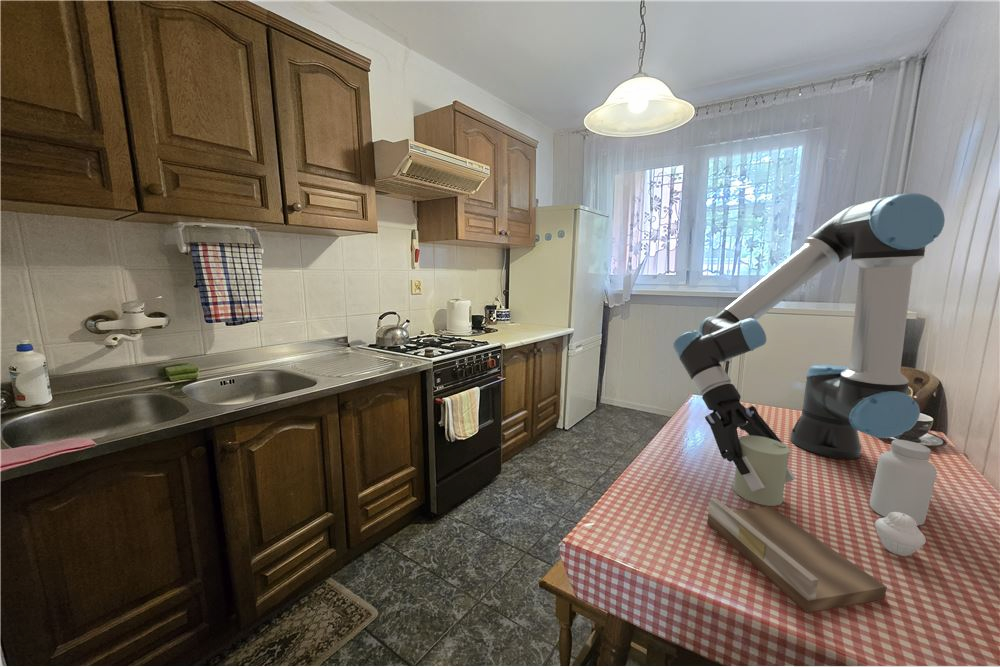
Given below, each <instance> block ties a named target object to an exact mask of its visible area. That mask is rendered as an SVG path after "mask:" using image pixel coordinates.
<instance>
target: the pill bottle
mask: <svg viewBox="0 0 1000 667" xmlns="http://www.w3.org/2000/svg"><path fill="white" fill-rule="evenodd" d="M931 454H932V450H931V449H930V448H929V447H928V446H925V445H924V444H921V443H918V442H914V441H910V440H906V439H893V440H892V441H891V443H890V450H889V451H885V452H882V453H881V454H880V455H879V457H878V460H877V466H876V470H875V475H874V479H873V483H872V489H871V494H870V499H869V506H870V508H871V510H873V511H874V512H875V513H877V514H879V515H880V516H882V518H885V517H887V516H888V514H889V513H891V512H900V513H903V514H906V515H908V516H910V517H911V518H913V519H914V520H915V521H916V523H917V527H918V526H919V525H920V526H922V525H924V523H925V522H926V519H927V515H928V512H929V511H928V510H929V506H930V503H931V499H932V494H933V490H934V486H935V483H936V478H937V468H936V466H935V465H934V464H933V463H932V462H930V457H931Z"/></svg>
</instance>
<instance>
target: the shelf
mask: <svg viewBox="0 0 1000 667" xmlns="http://www.w3.org/2000/svg"><path fill="white" fill-rule="evenodd" d="M707 524H708V525H709V526H711V528H712V529H713V530H715V531H716V532H717V533H718V534H719V536H721V537H722V538H723V539H724V540H726V542H728V543H729V544H730V545H731V546H732V547H733V548H735V549H736V551H738V552H739V554H741V555H742V556H743V557H744V558H745V559H747V561H749V562H750V563H751V565H753V566H754V567H755V568H756V569H758V571H760V573H761V574H762V575H764V576H765V577H766V578H769V581H770V582H771V583H773V585H775V584H776V585H775V586H776V587H777V588H778V587H779V588H780V591H781V592H783V594H785V595H786V596H787V595H788V596H789V597H790V598H791V599H792V600H791V601H792V602H793V603H795V604H796V605H797V606H798V607H799V608H800V609H801V608H802V611H803V612H805V613H806V614H807V613H812V612H813V613H814V612H818V611H823V610H829V609H835V608H836V609H837V608H840V607H841V608H842V607H846V606H852V605H858V604H862V603H869V602H874V601H879V600H885V598H886V593H887V589H888V587H887V586H886V585H885V584H883V583H882V582H880V581H879V580H878V579H876V578H875V577H873V576H872V575H870V574H869V573H867V572H866V571H865V570H863V569H861V567H859V566H857V565H856V564H854V563H853V562H852V561H850V560H848V558H846V557H845V556H843V555H842V554H841V553H838V552H837V551H836V550H834V549H833V548H832V547H830V546H828V545H827V544H826V543H824V542H822V540H820V539H819V538H817V537H816V536H814V535H812V534H811V533H810V532H809V531H807V530H805V529H804V528H803V527H801V526H799V525H798V524H797V523H795V521H792V520H791V519H790V518H788V517H787V516H785V515H784V514H782V513H781V512H780V511H778V510H777V509H775V508H774V507H773V506H762V507H752V508H744V509H735V510H732V509H731V508H729V506H727V505H725V503H723V502H722V501H720V500H719V499H718V498H717V497H710V498H709V505H708V514H707ZM779 588H778V589H779ZM788 596H787V597H788ZM789 597H788V598H789ZM790 598H789V599H790Z"/></svg>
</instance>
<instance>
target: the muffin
mask: <svg viewBox="0 0 1000 667" xmlns="http://www.w3.org/2000/svg"><path fill="white" fill-rule="evenodd" d="M874 526H875V529H876V533H877V535H878V538H879V540H880V542H881V545H882V546H883V547H884V549H885V550H887V551H889V552H890V553H893V554H895V555H897V556H901V557H909V556H910V555H912V554H913V553H916V552H917V551H918V550H920V549H921V548H922V547H923V546H924V545H925V544H926V542H927V540H926V537H925V535H924V534H923V532H922V531H921V530H920V529H919V527H918V526H917V523H916V521H915V520H914V519H913V518H911V517H910V516H908V515H906V514H903V513H900V512H891V513H889V514H888V516H887V517H880V518H878V519H877V520H876V521H875V522H874Z"/></svg>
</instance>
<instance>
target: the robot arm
mask: <svg viewBox="0 0 1000 667" xmlns="http://www.w3.org/2000/svg"><path fill="white" fill-rule="evenodd" d="M945 221H946V220H945V212H944V210H943V209H942V206H941V205H940V204H939V203H938V202H937V201H935V200H934V199H932V197H930V196H928V195H926V194H922V193H918V192H917V193H916V192H915V193H914V192H911V193H910V192H909V193H899V194H898V193H897V194H892V195H887V196H884V197H881V198H876V199H873V200H870V201H869V200H868V201H864V202H860V203H856V204H854V205H850V206H849V207H847V208H844V209H843V210H841V211H840V212H838V213H837V214H835V215H834V216H833V217H832V218H830V219H829V220H827V221H826V222H825V223H824V224H822V225H821V226H820V227H819V228H818V229H816V230H815V231H813V233H811V234H810V235H809V236H807V237H806V238H805V239H804V241H803V246H801V247H800V248H799V249H797V250H796V251H795V252H794V253H793V254H792V255H790V256H789V257H788V258H786V259H785V260H784V261H783V262H782V263H779V265H778V266H776V267H775V268H774V269H773V270H771V271H770V272H769V273H768V274H767V275H765V276H764V277H762V278H761V279H760V280H759V281H757V283H755V284H754V285H753V286H752V287H750V288H749V289H747V290H746V291H745V292H744V293H743V294H741V295H740V296H739V297H738V298H737V299H735V300H734V301H733V302H731V303H730V304H729V305H728V306H726V307H725V308H724V309H722V310H721V311H720V312H718V313H717V314H715V315H712V316H708V317H706V318H704V319H703V320H702V322H701V323H700V324H699V330H692V331H686V332H684V333H683V334H680V335H679V336H677V338H676V339H675V340H674V341H673V346H672V347H673V348H674V350H675V353H676V355H677V357H678V359H679V361H680V362H681V364H682V365H683V368H684V369H685V370H686V372H687V374H688V376H689V378H690V379H691V380H692V382H693V384H694V386H695V387H696V389H697V390H698V392H699V395H702V398H701V399H702V400H703V402H704V404H705V405H706V407H707V409H708V410H709V411H712V412H710V413H708V414H707V415H705V416H704V419H705V421H706V422H707V424H708V425H709V426H710V430H711V432H712V434H713V437H714V440H715V442H716V446H717V448H718V451H719V453H720V456H721V458H722V459H723V460H727V461H728V462H733V463H734V465H735V468H736V467H737V469H738V470H739V472H740V474H741V475H743V476H744V478H745V480H746V482H747V484H748V485H749V487H750V489H751V491H752V492H753V491H756V490H759V489H762V488H765V487H764V485H763V483H762V482H761V480H760V478H759V477H758V475H757V473H756V471H755V470H754V468H753V466H752V465H751V463H750V462H749V460H748V458H747V457H746V456H744V457H742V452H741V447H740V442H739V438H740V437H739V433H738V429H740V430H742V431H744V432H745V433H747V434H748V435H754V436H761V437H766V438H770V439H773V440H776V441H779V442H781V443H783V441H782V440H781V439H780V438H779V436H777V435H776V433H775V432H774V431H773V430H772V428H771V427H770V426H769V425H768V424H767V422H766V421H765V420H764V418H763V417H762V416H761V415H760V414H759V412H758V410H757V408H756V407H755V406H753V405H751V406H749V407H746V406H744V405H743V404H742V403H741V401H740V400H741V394H740V393H739V392H738V389H737V388H736V386H735V385H734V384H732V380H731V378H730V377H729V375H728V373H727V372H726V370H725V369H724V368H723V366H722V365H721V363H723V362H725V361H727V360H730V359H732V358H736V357H739V356H741V355H744V354H746V353H749V352H753V351H754V350H757V349H759V348H760V347H763V346H764V345H765V344H767V336H766V333H765V332H766V331H765V329H764V328H763V327H762V325H761V324H760V323H759V321H758V319H760V318H762V316H764V315H765V314H766V313H768V312H769V311H770V310H772V309H773V308H774V307H776V306H777V305H778V304H780V303H781V302H782V301H784V300H785V299H786V298H788V297H789V296H790V295H792V294H793V293H794V292H795V291H797V290H798V289H800V288H801V287H802V286H804V285H805V284H806V283H807V282H809V281H810V280H811V279H813V278H814V277H816V275H818V274H819V273H820V272H822V271H823V270H825V269H826V268H827V267H829V266H836V265H838V264H839V263H841V262H842V261H843V260H844V259H846V258H848V257H850V256H851V258H850V261H851V262H852V263H854V264H855V265H857V267H858V277H857V287H856V295H855V297H856V298H855V308H854V315H853V316H854V317H853V318H854V319H853V329H852V338H851V348H850V349H851V350H850V358H849V359H850V360H849V365H848V366H843V365H832V364H831V365H830V364H814V365H811V366H810V367H809V369H808V371H807V375H806V382H805V388H804V396H803V403H802V409H801V410H802V411H801V415H800V417H799V418H798V419H797V421H796V422H795V424H794V427H793V428H792V429H791V431H790V437H789V439H790V442H791V443H793V445H795V446H798V447H799V448H801V449H803V450H806V451H808V452H811V453H814V454H817V455H820V456H824V457H830V458H834V459H835V458H836V459H844V460H853V459H858V458H859V457H861V453H862V444H861V442H860V436H859V432H860V433H864V434H866V435H868V436H871V437H873V438H879V439H889V438H890V439H891V438H895V437H899V436H901V435H903V434H904V433H905V432H909V431H910V430H911V429H912V428H913V427H914V426H916V424H917V423H918V421H919V418H920V414H921V410H920V409H921V408H920V406H919V404H918V403H917V401H916V400H915V399H914V398H913V396H911V395H909V394H908V391H909V382H910V381H909V378H907V377H906V376H905V375H904V374H903V373H902V372H901V368H902V360H903V359H902V358H903V352H904V343H905V335H906V334H905V333H906V327H907V326H906V325H907V318H908V309H909V301H910V300H909V298H910V292H911V284H912V277H913V276H912V274H913V267H914V265H915V264H916V263H918V262H919V261H921V260H922V259H924V258H925V252H926V247H927V246H928V245H929V244H932V243H933V242H934V241H935V239H936V238H938V237H939V236H940V234H941V233H942V231H943V230H944V229H943V228H944V226H945ZM795 480H797V479H796V476H795V474H794V473H793V472H792V470H791V469H790V467H789V465H787V471H786V477H785V484H787V483H789V482H791V481H792V482H793V481H795Z"/></svg>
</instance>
